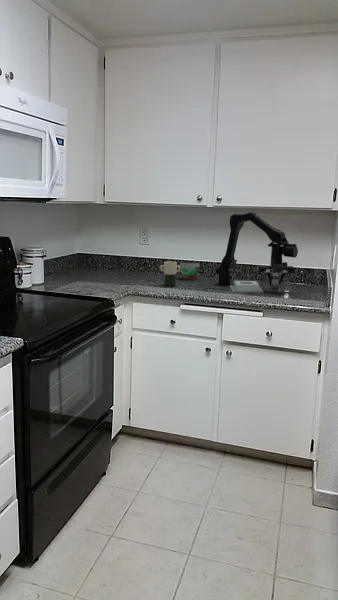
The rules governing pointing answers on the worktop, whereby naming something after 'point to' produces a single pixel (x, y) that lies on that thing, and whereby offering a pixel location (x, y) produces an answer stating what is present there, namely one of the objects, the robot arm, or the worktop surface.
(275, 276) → the spigot
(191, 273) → the food container
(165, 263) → the character mug
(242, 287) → the dock
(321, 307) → the worktop surface
